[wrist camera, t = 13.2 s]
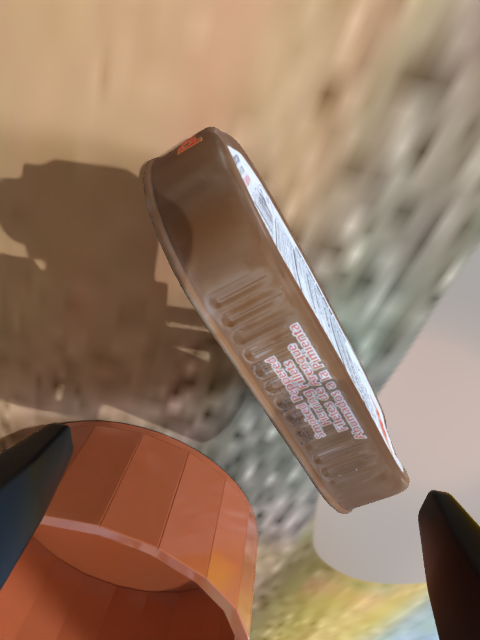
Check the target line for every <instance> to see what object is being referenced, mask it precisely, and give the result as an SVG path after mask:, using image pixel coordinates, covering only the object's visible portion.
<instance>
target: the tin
mask: <svg viewBox="0 0 480 640" xmlns="http://www.w3.org/2000/svg"><path fill="white" fill-rule="evenodd" d="M143 179H144V192H145V197H146V204H147V207H148V210H149V214H150V217H151V220H152V223H153V226H154V228H155V231H156V234H157V236H158V239H159V241H160V244H161V246H162V249H163V251H164V253H165V255H166V257H167V259H168V262H169V263H170V266H171V268H172V270H173V272H174V274H175V276H176V277H177V279H178V281H179V283H180V285H181V287H182V288H183V290H184V292H185V294H186V295H187V297H188V299H189V300H190V302H191V303H192V305H193V307H194V308H195V310H196V312H197V313H198V315H199V316H200V318H201V319H202V321H203V322H204V324H205V325H206V326H207V328H208V329H209V331H210V332H211V334H212V335H213V337H214V338H215V340H216V341H217V343H218V344H219V346H220V347H221V348H222V350H223V351H224V353H225V354H226V356H227V357H228V358H229V360H230V361H231V363H232V364H233V366H234V367H235V369H236V370H237V372H238V373H239V375H240V376H241V378H242V379H243V381H244V382H245V384H246V385H247V387H248V388H249V389H250V391H251V392H252V394H253V395H254V397H255V398H256V400H257V401H258V402H259V404H260V405H261V407H262V408H263V410H264V411H265V413H266V414H267V416H268V417H269V419H270V420H271V422H272V423H273V425H274V426H275V428H276V429H277V431H278V432H279V433H280V435H281V436H282V437H283V439H284V441H285V442H286V444H287V445H288V447H289V448H290V450H291V451H292V453H293V454H294V456H295V457H296V458H297V460H298V461H299V463H300V464H301V466H302V467H303V469H304V470H305V472H306V473H307V475H308V476H309V478H310V480H311V481H312V483H313V484H314V485H315V487H316V488H317V490H318V491H319V492H320V494H321V495H322V497H323V498H324V499H325V500H326V501H327V503H328V504H329V505H330V506H331V507H333V508H334V509H335V510H336V511H337V512H340V513H342V514H348V513H350V512H351V511H352V510H353V509H354V508H356V507H360V506H362V505H366V504H369V503H372V502H375V501H378V500H381V499H384V498H388V497H391V496H393V495H396V494H399V493H401V492H403V491H404V490H406V489H407V488H408V486H409V477H408V474H407V472H406V470H405V468H404V467H403V466H402V464H401V463H400V462H399V460H398V458H397V456H396V453H395V451H394V448H393V445H392V442H391V440H390V437H389V434H388V431H387V427H386V420H385V416H384V413H383V410H382V408H381V405H380V403H379V401H378V399H377V396H376V394H375V392H374V390H373V388H372V386H371V384H370V382H369V380H368V378H367V375H366V373H365V371H364V369H363V367H362V365H361V363H360V361H359V359H358V357H357V355H356V353H355V351H354V349H353V347H352V345H351V343H350V341H349V340H348V338H347V336H346V334H345V332H344V330H343V328H342V326H341V324H340V322H339V320H338V318H337V316H336V314H335V312H334V311H333V309H332V307H331V305H330V303H329V301H328V299H327V297H326V295H325V293H324V291H323V289H322V287H321V285H320V283H319V281H318V279H317V277H316V276H315V274H314V272H313V270H312V268H311V266H310V264H309V262H308V261H307V259H306V257H305V255H304V253H303V251H302V249H301V248H300V246H299V244H298V242H297V240H296V238H295V237H294V235H293V233H292V231H291V229H290V228H289V226H288V224H287V222H286V220H285V219H284V217H283V215H282V213H281V211H280V210H279V208H278V206H277V204H276V203H275V201H274V199H273V197H272V195H271V194H270V192H269V190H268V189H267V187H266V185H265V183H264V182H263V180H262V178H261V177H260V175H259V173H258V172H257V170H256V168H255V167H254V165H253V163H252V162H251V160H250V159H249V157H248V156H247V154H246V153H245V151H244V150H243V149H242V147H241V146H240V144H239V143H238V142H237V141H236V140H235V139H234V138H232V137H231V136H230V135H228V134H226V133H224V132H222V131H220V130H219V129H217V128H215V127H208V128H205V129H204V130H202V131H200V132H198V133H197V134H195V135H194V136H192V137H191V138H189V139H188V140H187V141H185V142H184V143H182V144H181V145H180V146H178V147H177V148H175V149H174V150H173V151H171V152H170V153H168V154H167V155H165V156H164V157H157V158H154V159H152V160H150V161H149V162H148V164H147V166H146V168H145V171H144V178H143Z"/></svg>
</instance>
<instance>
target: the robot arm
mask: <svg viewBox="0 0 480 640" xmlns="http://www.w3.org/2000/svg"><path fill="white" fill-rule="evenodd" d="M72 454H73V441H72V435H71V429H70V427H69V426H68V425H65V424H59V423H52V424H50V425H48V426H46V427H45V428H43V429H41V430H40V431H38V432H36V433H34V434H33V435H31V436H29V437H28V438H26V439H24V440H23V441H21V442H19V443H18V444H16V445H14V446H12V447H11V448H9V449H7V450H6V451H4V452H2V453H1V454H0V591H1V589H2V587H3V585H4V584H5V582H6V580H7V579H8V577H9V575H10V573H11V572H12V570H13V568H14V567H15V565H16V563H17V562H18V560H19V558H20V556H21V555H22V553H23V551H24V550H25V548H26V546H27V545H28V543H29V541H30V539H31V538H32V536H33V534H34V533H35V531H36V529H37V528H38V526H39V524H40V522H41V521H42V519H43V517H44V515H45V513H46V511H47V509H48V507H49V505H50V503H51V501H52V499H53V496H54V494H55V492H56V490H57V488H58V486H59V483H60V481H61V479H62V477H63V475H64V473H65V470H66V468H67V466H68V464H69V462H70V460H71V457H72ZM418 522H419V530H420V536H421V544H422V552H423V559H424V567H425V574H426V581H427V587H428V593H429V597H430V602H431V606H432V610H433V615H434V619H435V623H436V627H437V631H438V635H439V640H480V526H479V525H478V524H477V523H476V522H475V521H474V520H473V519H472V517H471V516H470V515H469V514H468V513H467V512H466V511H465V510H464V509H463V508H462V506H461V505H460V504H459V503H458V502H457V501H456V500H455V498H453V496H452V495H450V494H449V493H447V492H441V491H436V490H431V491H430V492H429V493H428V495H427V497H426V499H425V501H424V503H423V505H422V507H421V509H420V511H419V515H418Z"/></svg>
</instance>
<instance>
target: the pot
mask: <svg viewBox="0 0 480 640" xmlns="http://www.w3.org/2000/svg"><path fill="white" fill-rule="evenodd" d="M65 425H68V426H69V427H70V429H71V435H72V441H73V454H72V457H71V460H70V462H69V464H68V466H67V468H66V470H65V473H64V475H63V477H62V479H61V481H60V483H59V486H58V488H57V490H56V492H55V494H54V496H53V499H52V501H51V503H50V505H49V507H48V509H47V511H46V513H45V515H44V517H43V519H42V521H41V522H40V524H39V526H38V528H37V529H36V531H35V533H34V534H33V536H32V538H31V539H30V541H29V543H28V545H27V546H26V548H25V550H24V551H23V553H22V555H21V556H20V558H19V560H18V562H17V563H16V565H15V567H14V568H13V570H12V572H11V573H10V575H9V577H8V579H7V580H6V582H5V584H4V585H3V587H2V589H1V591H0V640H249V634H250V623H251V612H252V601H253V590H254V580H255V569H256V558H257V547H258V534H257V533H258V531H257V523H256V518H255V515H254V512H253V509H252V507H251V505H250V503H249V501H248V499H247V498H246V496H245V494H244V493H243V492H242V490H241V489H240V488H239V486H238V485H237V484H236V482H235V481H234V480H233V479H232V478H231V477H230V476H229V475H228V474H227V473H226V472H225V471H224V470H223V469H221V468H220V467H219V466H218V465H217V464H215V463H214V462H213V461H212V460H210V459H209V458H207V457H206V456H204V455H203V454H201V453H200V452H198V451H197V450H195V449H193V448H191V447H189V446H187V445H186V444H184V443H182V442H180V441H178V440H175V439H173V438H170V437H168V436H166V435H163V434H161V433H158V432H155V431H151V430H148V429H145V428H142V427H137V426H132V425H128V424H123V423H115V422H106V421H81V422H71V423H66V424H65Z"/></svg>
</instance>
